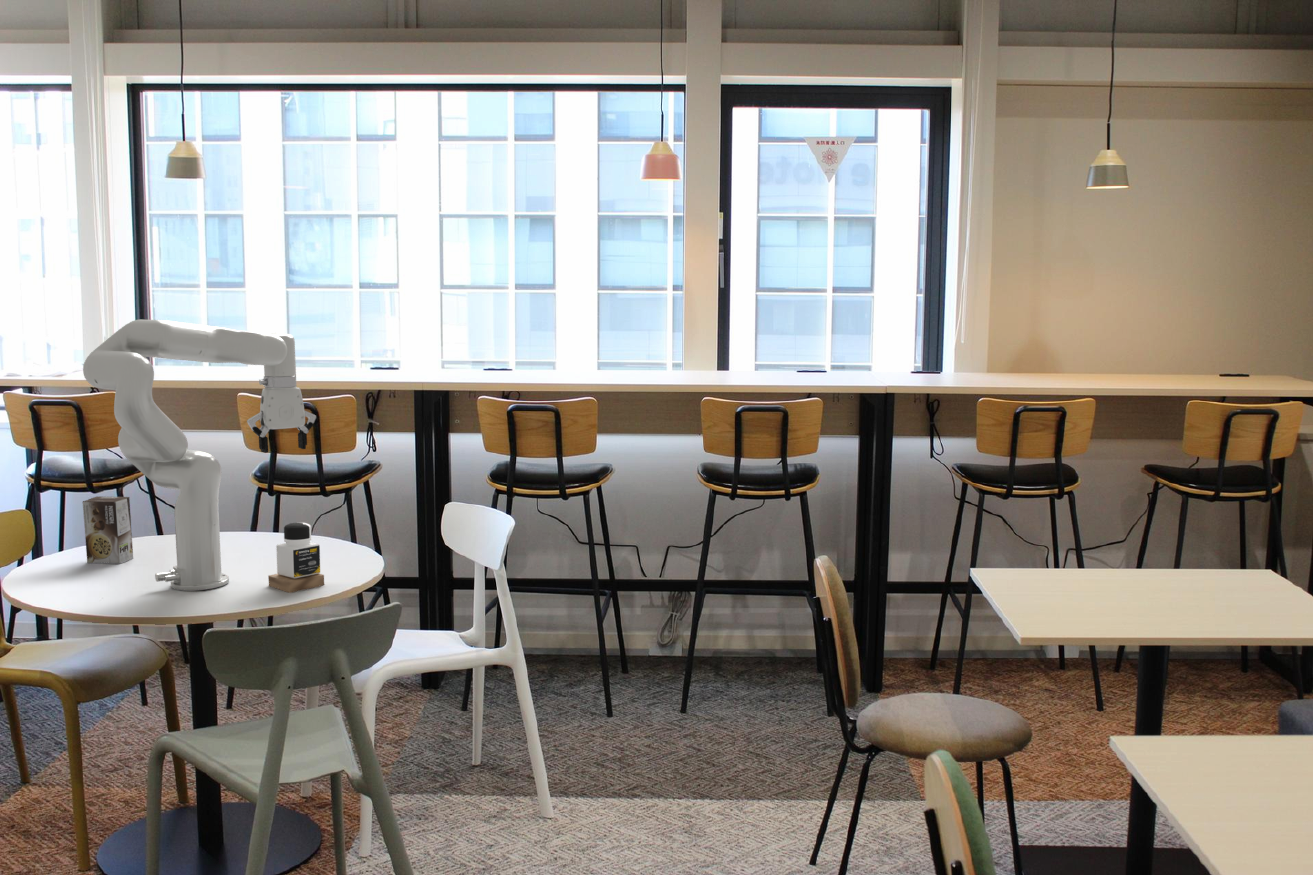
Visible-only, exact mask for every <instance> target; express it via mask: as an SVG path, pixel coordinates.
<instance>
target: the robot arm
mask: <svg viewBox="0 0 1313 875" xmlns="http://www.w3.org/2000/svg"><path fill="white" fill-rule="evenodd" d="M295 343H296V342H295V337H294V336H293V335H292V334H290V333H263V332H256V331H255V332H254V331H247V330H237V329H232V328H227V327H222V326H221V327H220V326H215V325H214V326H212V325H207V324H205V325H204V324H199V323H198V324H197V323H189V322H180V321H173V320H166V319H165V320H164V319H141V318H140V319H134V320H132V321H130V322H129V323H126V324H124V325H123V326H121V328H119V329H118V330H117V331H116V332H114V333H113V334H112V335H110V337H108V338H106V339H105V341H103V342H102V343H101V344H99V346H97V347H96V348H94V350H93V351H91V352H90V353H89V355H88V356H87V357H86V358H85V360H84V363H83V366H82V372H83V374H82V375H83V376H84V380H86V382H88V384H89V385H91V386H92V387H94V388H97V389H99V390H109V391H115V393H114V394H115V395H114V403H113V404H114V405H113V413H114V418H115V420H116V422H117V423H118V425H119V426H120V427H121V428H120V430H119V431H118V432H119V433H118V436H117V438H118V439H117V442H118V447H119V449H120V452H121V453H122V455H123V456H124V458H126V459H127V460H128V461H129V462H130V463H131V464H132V465H133V466H134V467H135V468H136V469H137V470H139V471H140V472H141V473H142V474H143V475H144V476H145V477H146V478H147V479H149V481H150V482H153V484H154V485H157V486H159V487H160V488H164V489H170V490H177V491H179V494H178V496H177V499H176V502H175V506H174V513H173V514H174V530H175V531H174V532H175V549H176V550H175V551H176V552H175V553H176V565H173V567H172V569H169V571H167V572H164V571H163V572H158V573H155V575H154V579H155V581H156V582H164V583H165V582H166V583H168V582H170V587H171V588H172V589H174V590H176V591H185V592H186V591H187V592H188V591H189V592H192V591H195V592H197V591H204V590H205V591H206V590H211V589H216V588H220V587H223V586H225V585H227V584H228V583H229V582H230V578H229V575H228V574H226V573H222V557H221V555H222V554H221V535H220V534H221V533H220V531H221V530H220V514H219V512H220V510H219V499H220V498H219V496H220V485H221V481H222V467H221V464H220V462H219V460H218V459H217V458H216V457H215V455H212V454H210V453H208V452H206V451H201V450H194V449H188V448H189V445H188V444H189V443H188V439H187V437H186V435H185V433H184V431H182V429H181V428H180V427H179V426H178V425H176V424H175V422H173V421H172V419H171V418H169V417H168V415H166V414H165V413H164V412H163V410H162V409H160V407H159V406H158V405H157V404H156V403H155V401H154V397H153V385H154V379H155V370H154V367H153V364H152V362H151V361H150V360H149V359H148V358H156V359H167V360H177V361H178V360H180V361H190V362H200V363H211V364H212V363H213V364H228V363H229V364H230V363H236V364H242V365H250V366H251V365H252V366H263V373H264V375H263V378H261V379H258V384H259V385H260V386H263V387H264V388H262V391H261V395H260V396H261V397H260V408H259V409H260V410H259V412H258V413H257V414H255V415H253V416H251V417H249V419H246V423H247V425H248V426H249V428H250V429H251V432H253V433H255V434H256V436H257V437H258V446H259V447H258V449H259V450H260V452H261V453H265V454H268V452H269V438H268V437H267V434H268V432H270V430H282V429H283V430H284V429H294V428H297V430H298V433H297V442H298V444H297V446H298V448H299V449H301V450H306V447H307V445H308V437H307V436H308V435H307V434H308V433H309V431H310V429H312V428H313V426H314V423H315V421H316V419H317V415H315V414H314V413H311V412H309V411H308V410H305V406H304V405H305V404H304V399H303V395H302V390H301V388H300V387H297V368H296V367H297V365H296V364H297V362H296V344H295ZM306 418H307V421H306ZM258 421H260V422H259V423H260V428H259V427H258V426H257V425H256V422H258Z"/></svg>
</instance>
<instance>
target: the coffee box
mask: <svg viewBox="0 0 1313 875" xmlns="http://www.w3.org/2000/svg"><path fill="white" fill-rule="evenodd" d="M130 500H131V499H130V496H94V497H91V498H88V499H86V500H83V501H82V512H83V524H84V535H85V536H84V539H85V548H86V549H85V551H86V563H87V564H113V565H114V564H117V565H118V564H119V565H120V564H122V563H125V562H128V561H130V560H133V559H134V550H133V548H134V547H133V538H132V537H133V534H132V519H131V518H132V516H131V502H130Z"/></svg>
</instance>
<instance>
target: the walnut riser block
mask: <svg viewBox="0 0 1313 875" xmlns="http://www.w3.org/2000/svg"><path fill="white" fill-rule="evenodd" d="M268 586H269V587H271V588H275V589H277V590H280V591H284V592H286V593H289V594H291V593H296V592H300V591H304V590H309V589H313V588H317V587H321V586H325V574H322V573H319V574H314V575H310V576H305V577H300V578H295V579H294V578H290V577H286V576H283V575H279V574H277V573H274V574H270V575H268Z"/></svg>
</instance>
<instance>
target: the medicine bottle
mask: <svg viewBox="0 0 1313 875" xmlns="http://www.w3.org/2000/svg"><path fill="white" fill-rule="evenodd" d="M283 540H284V543H278V544H277V545H276V546H275V547H276V548H275V549H276V570H277V571H276V574H279V575H283V576H286V577H290V578H294V579H295V578H300V577H305V576H310V575H314V574H321V550H320V543H316V542H313V541H312V525H311V524H310V523H307V522H290V523H288V524H286V525H284V527H283Z"/></svg>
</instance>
